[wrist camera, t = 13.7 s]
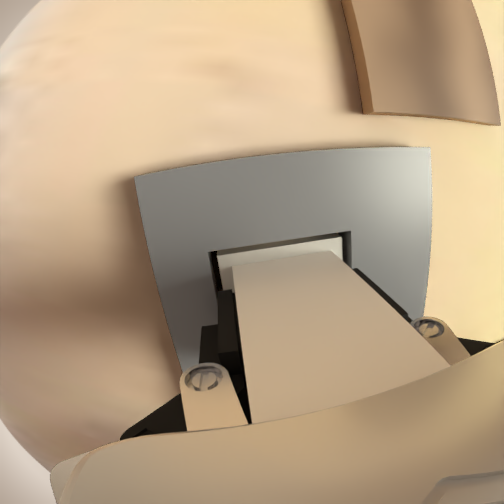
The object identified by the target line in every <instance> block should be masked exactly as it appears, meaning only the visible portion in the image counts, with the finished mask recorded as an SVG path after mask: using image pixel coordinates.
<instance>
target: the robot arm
mask: <svg viewBox="0 0 504 504" xmlns="http://www.w3.org/2000/svg"><path fill="white" fill-rule="evenodd" d="M352 270H353V271H354V272H355V273H356V274H357V275H359V276H360V277H361V278H362V279H363V280H364V281H365V282H366V283H367V284H368V285H369V286H370V287H372V288H373V289H374V290H375V291H376V292H377V293H378V294H379V295H380V296H381V297H382V298H383V299H384V300H385V301H386V302H387V303H388V304H390V305H391V306H392V307H393V308H394V309H395V310H396V311H397V312H398V313H399V314H400V315H401V316H402V317H403V318H404V319H405V320H406V321H407V322H408V323H409V324H410V325H411V326H412V327H413V328H414V329H415V330H416V331H417V332H418V333H419V334H420V335H421V336H422V337H423V338H424V339H425V340H426V341H427V342H428V343H429V344H430V345H431V346H432V347H433V348H434V349H435V350H436V351H437V352H438V353H439V354H440V355H441V356H442V357H443V358H444V359H445V360H446V361H447V362H448V363H449V364H450V366H449V367H447V368H445V369H443V370H440V371H438V372H435V373H433V374H431V375H428V376H426V377H423V378H421V379H418V380H415V381H413V382H410V383H407V384H405V385H402V386H399V387H396V388H394V389H391V390H388V391H385V392H382V393H379V394H376V395H373V396H369V397H366V398H363V399H360V400H356V401H353V402H349V403H346V404H342V405H338V406H335V407H331V408H327V409H323V410H319V411H315V412H310V413H306V414H301V415H297V416H292V417H287V418H282V419H277V420H271V421H265V422H259V423H253V424H252V419H251V412H250V405H249V398H248V391H247V383H246V376H245V368H244V361H243V353H242V345H241V337H240V329H239V321H238V313H237V305H236V296H235V292H234V293H232V289H229V290H222V291H218V324H215V325H208V326H202V328H201V340H200V353H199V364H197V365H194V366H192V367H190V368H188V369H187V370H186V371H185V372H184V373H182V375H181V377H180V382H179V384H180V391H181V393H180V394H179V395H177V396H176V397H174V398H173V399H171V400H170V401H169V402H167V403H166V404H164V405H163V406H161V407H160V408H159V409H157V410H156V411H154V412H153V413H151V414H150V415H148V416H147V417H145V418H144V419H142V420H141V421H139V422H138V423H136V424H135V425H133V426H132V427H130V428H129V429H128V430H126V431H125V432H124V433H123V435H122V436H121V438H120V441H117V442H114V443H108V444H106V445H104V446H101V447H99V448H96V449H94V450H91V451H89V452H86V453H84V454H81V455H78V456H76V457H73V458H70V459H67V460H65V461H62V462H60V463H58V464H56V466H55V467H54V468H53V469H52V471H51V474H50V482H51V486H52V489H53V493H54V496H55V499H56V503H57V504H504V340H503V341H501V342H499V343H497V344H495V343H488V342H482V341H476V340H469V339H463V338H457V337H456V336H455V334H454V333H453V332H452V331H451V329H450V328H449V327H448V325H447V324H446V323H445V322H443V321H442V320H440V319H438V318H434V317H420V318H416V319H415V320H412V319H411V318H410V317H408V313H407V312H406V311H405V310H404V309H403V308H402V307H401V306H400V305H398V304H397V303H396V302H395V301H394V300H393V299H392V298H391V297H390V296H389V295H387V294H386V293H385V292H384V291H383V290H382V289H381V288H380V287H379V286H377V285H376V284H375V283H374V282H373V281H372V280H371V279H370V278H368V277H367V276H366V275H365V274H364V273H363V272H362V271H360V270H359V269H358V268H354V269H352Z"/></svg>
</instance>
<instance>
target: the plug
mask: <svg viewBox="0 0 504 504" xmlns="http://www.w3.org/2000/svg"><path fill="white" fill-rule="evenodd" d="M217 258H218V264H219V270H220V275H221V281H222V287H223V290H229V289H232V293H234V292H235V296H236V305H237V313H238V321H239V329H240V337H241V345H242V353H243V361H244V368H245V376H246V383H247V391H248V398H249V405H250V412H251V419H252V424H253V423H259V422H265V421H271V420H277V419H282V418H287V417H292V416H297V415H301V414H306V413H310V412H315V411H319V410H323V409H327V408H331V407H335V406H338V405H342V404H346V403H349V402H353V401H356V400H360V399H363V398H366V397H369V396H373V395H376V394H379V393H382V392H385V391H388V390H391V389H394V388H396V387H399V386H402V385H405V384H407V383H410V382H413V381H415V380H418V379H421V378H423V377H426V376H428V375H431V374H433V373H435V372H438V371H440V370H443V369H445V368H447V367H449V366H450V364H449V363H448V362H447V361H446V360H445V359H444V358H443V357H442V356H441V355H440V354H439V353H438V352H437V351H436V350H435V349H434V348H433V347H432V346H431V345H430V344H429V343H428V342H427V341H426V340H425V339H424V338H423V337H422V336H421V335H420V334H419V333H418V332H417V331H416V330H415V329H414V328H413V327H412V326H411V325H410V324H409V323H408V322H407V321H406V320H405V319H404V318H403V317H402V316H401V315H400V314H399V313H398V312H397V311H396V310H395V309H394V308H393V307H392V306H391V305H390V304H388V303H387V302H386V301H385V300H384V299H383V298H382V297H381V296H380V295H379V294H378V293H377V292H376V291H375V290H374V289H373V288H372V287H370V286H369V285H368V284H367V283H366V282H365V281H364V280H363V279H362V278H361V277H360V276H359V275H357V274H356V273H355V272H354V271H353V270H352V269H351V268H350V267H349V266H348V265H347V264H345V263H344V262H343V255H342V237H341V236H340V235H338V234H337V233H331V234H324V235H317V236H311V237H304V238H297V239H290V240H283V241H277V242H270V243H263V244H257V245H250V246H243V247H237V248H230V249H224V250H217Z"/></svg>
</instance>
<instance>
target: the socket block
mask: <svg viewBox="0 0 504 504" xmlns="http://www.w3.org/2000/svg"><path fill="white" fill-rule="evenodd" d="M134 180H135V186H136V191H137V197H138V202H139V208H140V213H141V218H142V223H143V228H144V232H145V237H146V242H147V246H148V251H149V255H150V259H151V263H152V268H153V272H154V276H155V280H156V284H157V287H158V291H159V295H160V299H161V302H162V306H163V310H164V313H165V317H166V320H167V324H168V327H169V330H170V334H171V337H172V340H173V344H174V347H175V350H176V353H177V356H178V359H179V362H180V365H181V368H182V371H183V373H184V372H185V371H186V370H187V369H188V368H190V367H192V366H194V365H197V364H199V353H200V340H201V328H202V326H208V325H215V324H218V289H217V284H216V278H215V273H214V268H213V262H212V256H211V251H217V250H224V249H230V248H237V247H243V246H250V245H257V244H263V243H270V242H277V241H283V240H290V239H297V238H304V237H311V236H317V235H324V234H331V233H338V235H340V236H341V237H342V255H343V262H344V263H345V264H347V265H348V266H349V267H350V268H351V269H354V268H358V269H359V270H360V271H362V272H363V273H364V274H365V275H366V276H367V277H368V278H370V279H371V280H372V281H373V282H374V283H375V284H376V285H377V286H379V287H380V288H381V289H382V290H383V291H384V292H385V293H386V294H387V295H389V296H390V297H391V298H392V299H393V300H394V301H395V302H396V303H397V304H398V305H400V306H401V307H402V308H403V309H404V310H405V311H406V312H407V313H408V317H410V318H411V319H412V320H415V319H416V318H420V317H423V313H424V307H425V300H426V292H427V284H428V274H429V264H430V251H431V233H432V168H431V151H430V147H366V148H342V149H326V150H312V151H299V152H288V153H278V154H269V155H260V156H252V157H244V158H236V159H229V160H222V161H215V162H209V163H203V164H197V165H191V166H185V167H179V168H174V169H168V170H163V171H158V172H153V173H148V174H143V175H139V176H135V177H134Z"/></svg>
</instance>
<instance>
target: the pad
mask: <svg viewBox="0 0 504 504" xmlns="http://www.w3.org/2000/svg"><path fill="white" fill-rule="evenodd" d="M341 3H342V7H343V11H344V14H345V18H346V23H347V27H348V31H349V36H350V40H351V45H352V50H353V55H354V60H355V65H356V70H357V76H358V82H359V88H360V95H361V102H362V109H363V114H371V115H399V116H415V117H428V118H438V119H448V120H456V121H464V122H471V123H477V124H484V125H496V126H501V123H500V114H499V107H498V100H497V93H496V88H495V82H494V77H493V72H492V67H491V63H490V59H489V55H488V51H487V47H486V43H485V40H484V36H483V33H482V29H481V26H480V23H479V20H478V17H477V14H476V11H475V9H474V6H473V3H472V0H341Z"/></svg>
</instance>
